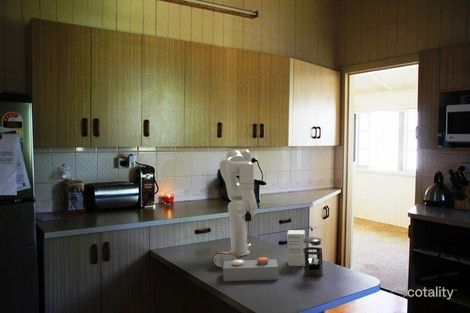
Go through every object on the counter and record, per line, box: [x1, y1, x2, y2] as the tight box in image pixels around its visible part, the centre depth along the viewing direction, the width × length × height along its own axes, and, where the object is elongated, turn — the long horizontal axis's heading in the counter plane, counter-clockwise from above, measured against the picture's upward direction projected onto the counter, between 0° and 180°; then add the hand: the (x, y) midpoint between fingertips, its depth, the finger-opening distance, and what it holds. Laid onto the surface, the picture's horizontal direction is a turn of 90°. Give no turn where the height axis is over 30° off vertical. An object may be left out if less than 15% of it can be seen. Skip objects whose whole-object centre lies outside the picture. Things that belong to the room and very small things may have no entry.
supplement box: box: [286, 229, 307, 267], centre depth 206 cm, size 10×9×17 cm
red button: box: [256, 256, 269, 265], centre depth 189 cm, size 6×6×5 cm
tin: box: [212, 250, 242, 269], centre depth 204 cm, size 15×3×8 cm, turn 71°
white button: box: [232, 259, 244, 266], centre depth 189 cm, size 6×6×5 cm
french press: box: [303, 226, 324, 278], centre depth 188 cm, size 12×9×23 cm
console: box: [222, 258, 280, 282], centre depth 189 cm, size 26×12×6 cm, turn 88°
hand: (248, 220), depth 203 cm, fingers closed
